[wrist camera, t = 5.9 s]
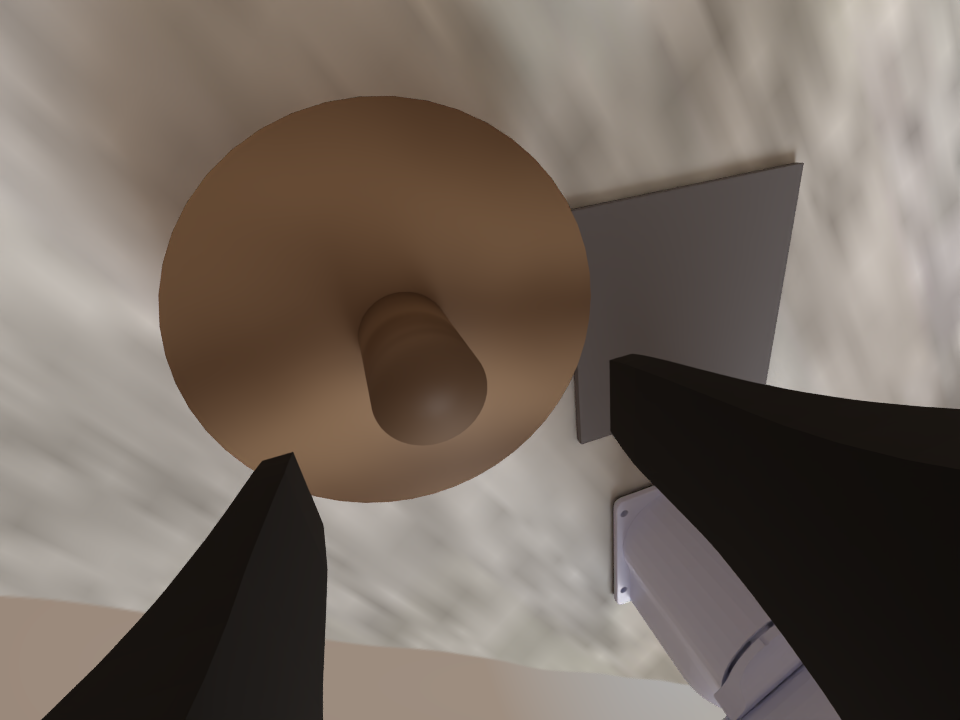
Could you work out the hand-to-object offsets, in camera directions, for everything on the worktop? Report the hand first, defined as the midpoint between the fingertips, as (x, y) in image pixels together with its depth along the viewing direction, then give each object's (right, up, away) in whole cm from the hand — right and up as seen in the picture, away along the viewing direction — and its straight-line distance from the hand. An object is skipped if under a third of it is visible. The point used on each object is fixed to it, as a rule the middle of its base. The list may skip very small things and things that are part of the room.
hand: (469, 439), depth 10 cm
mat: (+10, +4, +13) cm, 17 cm away
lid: (-2, +3, +5) cm, 6 cm away
